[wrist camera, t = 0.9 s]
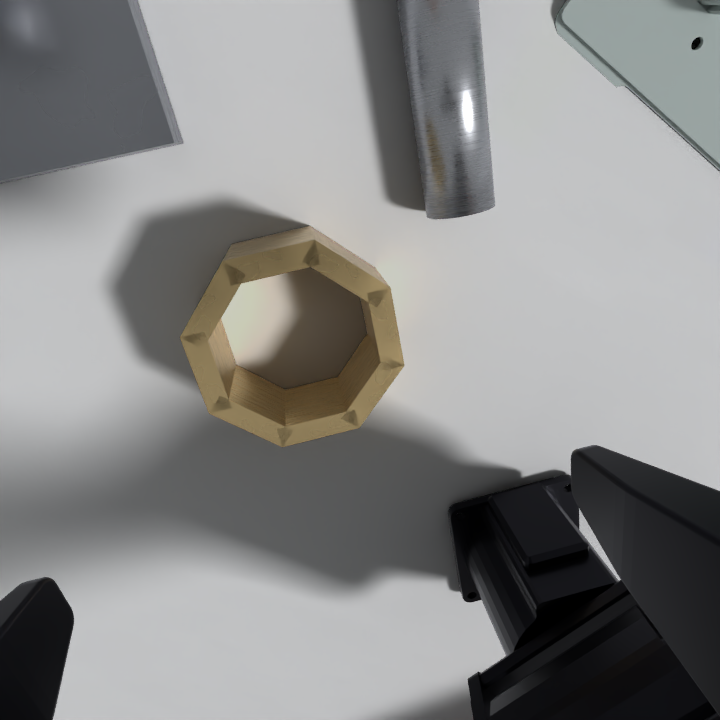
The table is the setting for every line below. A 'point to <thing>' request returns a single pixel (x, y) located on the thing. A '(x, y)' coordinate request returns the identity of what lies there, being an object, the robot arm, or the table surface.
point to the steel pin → (448, 104)
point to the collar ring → (307, 402)
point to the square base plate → (78, 86)
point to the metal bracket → (656, 58)
